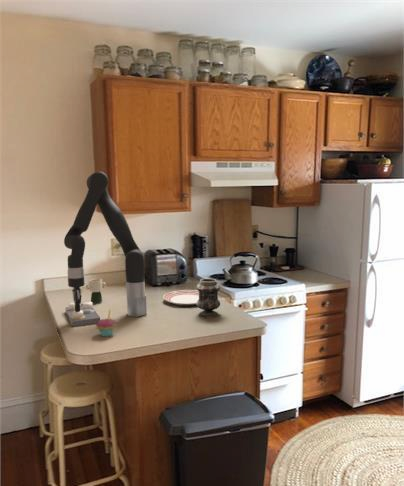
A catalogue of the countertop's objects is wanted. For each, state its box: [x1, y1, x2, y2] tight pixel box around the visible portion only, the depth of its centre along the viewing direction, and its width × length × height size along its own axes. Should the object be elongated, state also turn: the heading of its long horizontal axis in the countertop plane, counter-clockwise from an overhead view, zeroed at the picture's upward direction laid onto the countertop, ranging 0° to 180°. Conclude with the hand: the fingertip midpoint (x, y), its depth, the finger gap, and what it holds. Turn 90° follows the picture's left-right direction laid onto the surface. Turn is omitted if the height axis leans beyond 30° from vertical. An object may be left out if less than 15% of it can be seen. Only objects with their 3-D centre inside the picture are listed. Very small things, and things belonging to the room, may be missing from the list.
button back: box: [68, 301, 75, 309], centre depth 218 cm, size 5×5×2 cm
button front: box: [73, 310, 83, 318], centre depth 204 cm, size 5×5×2 cm
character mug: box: [85, 278, 107, 304], centre depth 239 cm, size 11×7×13 cm, turn 111°
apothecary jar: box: [195, 277, 221, 318], centre depth 214 cm, size 12×12×18 cm
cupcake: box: [95, 309, 117, 337], centre depth 186 cm, size 9×8×12 cm
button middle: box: [82, 301, 94, 309], centre depth 213 cm, size 5×5×2 cm
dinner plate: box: [162, 289, 199, 306], centre depth 241 cm, size 27×27×3 cm
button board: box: [65, 304, 101, 328], centre depth 213 cm, size 26×13×3 cm, turn 25°
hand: (77, 311), depth 204 cm, fingers closed
